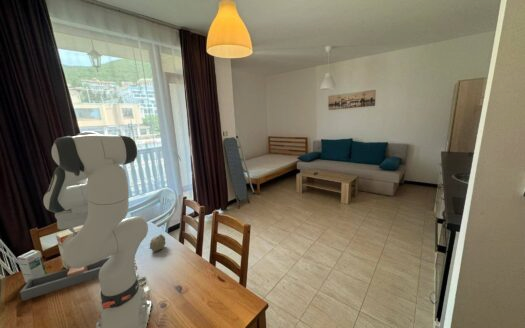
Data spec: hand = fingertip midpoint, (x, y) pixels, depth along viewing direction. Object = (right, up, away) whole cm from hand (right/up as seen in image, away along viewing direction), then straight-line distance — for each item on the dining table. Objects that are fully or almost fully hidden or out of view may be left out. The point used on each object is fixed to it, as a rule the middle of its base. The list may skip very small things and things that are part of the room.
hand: (88, 231), depth 102 cm
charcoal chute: (-7, -24, 0) cm, 25 cm away
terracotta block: (-5, -23, +1) cm, 23 cm away
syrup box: (-27, -25, +1) cm, 37 cm away
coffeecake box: (-16, -22, +15) cm, 30 cm away
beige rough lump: (+23, -19, +23) cm, 37 cm away
